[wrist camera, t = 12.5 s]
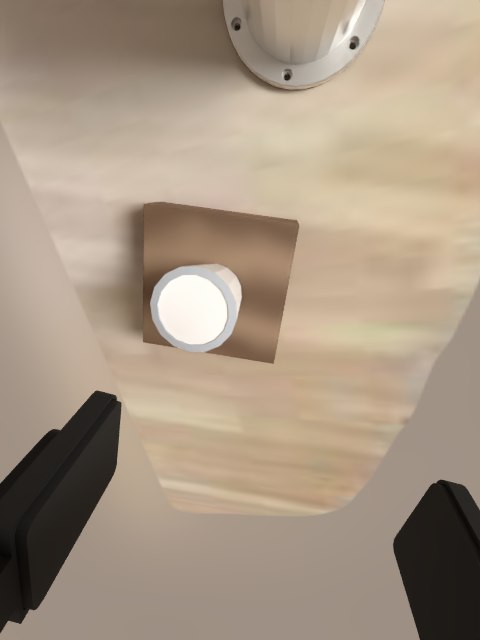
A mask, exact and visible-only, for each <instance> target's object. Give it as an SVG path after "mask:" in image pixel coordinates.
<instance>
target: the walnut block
mask: <svg viewBox="0 0 480 640" xmlns="http://www.w3.org/2000/svg"><path fill="white" fill-rule="evenodd" d="M298 230H299V224H298V222H297V220H290V219H283V218H275V217H268V216H261V215H253V214H246V213H239V212H232V211H224V210H217V209H210V208H202V207H195V206H188V205H181V204H173V203H166V202H155V203H147V204H144V288H143V342H146V343H152V344H158V345H164V346H170V347H175V346H173V345H172V344H171V343H169V342H168V341H167V340H166V339H165V338H164V337H163V336H162V335H160V333H159V331H158V329H157V327H156V325H155V324H154V322H153V320H152V313H151V305H150V302H151V298H152V294H153V291H154V287H155V286H156V285H157V283H158V282H159V281H160V280H161V278H162V277H163V276H164V275H165V274H166V273H168V272H170V271H172V270H175V269H177V268H179V267H182V266H191V265H200V264H216V263H217V264H219V265H222V266H224V267H227V268H228V269H230V270H231V271H232V272H233V273H234V274H235V275H236V276H237V279H238V281H239V283H240V285H241V294H242V298H241V303H240V308H239V312H238V317H237V320H236V323H235V326H234V328H233V331H232V334H231V335H230V336H229V337H228V338H227V339H226V340H225V341H224V342H223V343H222V344H221V345H220V346H219V347H216V348H214V349H211V350H209V351H206V353H212V354H218V355H224V356H230V357H236V358H242V359H248V360H254V361H261V362H267V363H273V364H274V359H275V353H276V348H277V342H278V337H279V332H280V326H281V321H282V316H283V310H284V305H285V299H286V294H287V289H288V283H289V278H290V273H291V267H292V262H293V256H294V251H295V246H296V240H297V235H298ZM176 348H178V347H176Z"/></svg>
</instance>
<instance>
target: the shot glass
mask: <svg viewBox="0 0 480 640" xmlns="http://www.w3.org/2000/svg"><path fill="white" fill-rule="evenodd" d="M241 298H242V294H241V285H240V283H239V281H238V279H237V276H236V275H235V274H234V273H233V272H232V271H231V270H230V269H228V268H227V267H224V266H222V265H219V264H217V263H216V264H200V265H191V266H182V267H179V268H177V269H175V270H172V271H170V272H168V273H166V274H165V275H164V276H163V277H162V278H161V280H160V281H159V282H158V283H157V285H156V286H155V287H154V291H153V294H152V298H151V302H150V305H151V313H152V320H153V322H154V324H155V325H156V327H157V329H158V331H159V333H160V335H162V336H163V337H164V338H165V339H166V340H167V341H168V342H169V343H171V344H172V345H173V346H175V347H178V348H180V349H183V350H185V351H188V352H206V351H209V350H211V349H214V348H216V347H219V346H220V345H221V344H222V343H223V342H224V341H225V340H226V339H227V338H228V337H229V336H230V335H231V334H232V331H233V328H234V326H235V323H236V320H237V317H238V312H239V308H240V303H241Z"/></svg>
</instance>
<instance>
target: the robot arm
mask: <svg viewBox="0 0 480 640" xmlns="http://www.w3.org/2000/svg"><path fill="white" fill-rule="evenodd" d="M384 2H385V0H223V9H224V17H225V21H226V24H227V28H228V32H229V35H230V38H231V40H232V43H233V46H234V47H235V49H236V51H237V53H238V55H239V56H240V58H241V60H242V61H243V62H244V63H245V65H246V66H247V67H248V68H249V69H250V71H251V72H253V73H254V74H255V75H256V76H258V77H259V78H260V79H261V80H263V81H265V82H267V83H269V84H271V85H273V86H275V87H280V88H284V89H288V90H296V89H307V88H311V87H316V86H318V85H320V84H323V83H325V82H327V81H329V80H331V79H332V78H334V77H335V76H337V75H338V74H340V73H341V72H342V71H344V70H345V69H346V68H347V67H348V66H349V65H350V64H351V63H352V62H353V61H354V60H355V59H356V57H357V56H358V55H359V53H360V52H361V51H362V49H363V48H364V46H365V45H366V44H367V42H368V40H369V38H370V36H371V35H372V33H373V31H374V29H375V27H376V25H377V22H378V20H379V17H380V15H381V13H382V9H383V6H384ZM238 25H239V26H240V27H241V28H240V29H239V30H238V31H235V27H236V26H238ZM350 44H354V45H355V49H354V50H351V49H350V48H349V45H350ZM285 75H289V76H290V79H289V80H287V81H286V80H285V79H284V76H285ZM120 417H121V402H119V401H117V397H116V396H115V395H113V394H109V393H105V392H101V391H95V392H94V393H93V394H92V395H91V396H90V397H89V399H88V400H87V401H86V402H85V403H84V404H83V405H82V407H81V408H80V409H79V410H78V411H77V412H76V413H75V415H74V416H73V417H72V418H71V419H70V420H69V421H68V423H67V424H66V425H65V426H64V427H63V428H62V430H57V429H53V430H51V431H49V432H48V433H47V434H46V435H45V436H44V437H43V438H42V439H41V440H40V441H39V442H38V443H37V444H36V445H35V446H34V447H33V449H32V450H31V451H30V452H29V453H28V454H27V455H26V456H25V457H24V458H23V459H22V461H21V462H20V463H19V464H18V465H17V466H16V467H15V468H14V469H13V470H12V471H11V473H10V474H9V475H8V476H7V477H6V478H5V479H4V480H3V481H2V482H1V483H0V633H1V631H2V630H3V628H4V626H5V625H6V623H7V621H12V622H16V623H19V624H21V623H22V621H23V619H24V618H25V616H26V614H27V613H28V611H29V609H31V610H36V609H37V608H38V606H39V605H40V604H41V602H42V601H43V599H44V597H45V596H46V594H47V592H48V590H49V588H50V587H51V585H52V583H53V581H54V580H55V578H56V576H57V574H58V573H59V571H60V569H61V567H62V565H63V564H64V562H65V560H66V558H67V557H68V555H69V553H70V551H71V550H72V548H73V546H74V544H75V542H76V541H77V539H78V537H79V535H80V534H81V532H82V530H83V528H84V526H85V525H86V523H87V521H88V519H89V518H90V516H91V514H92V512H93V511H94V509H95V507H96V505H97V504H98V502H99V500H100V498H101V496H102V495H103V493H104V491H105V489H106V487H107V486H108V484H109V482H110V481H111V479H112V477H113V475H114V472H115V469H116V465H117V453H118V441H119V429H120ZM393 548H394V554H395V557H396V560H397V564H398V567H399V570H400V574H401V577H402V580H403V584H404V587H405V591H406V594H407V597H408V601H409V604H410V607H411V611H412V614H413V617H414V620H415V624H416V627H417V631H418V634H419V638H420V640H480V510H479V508H478V506H477V505H476V503H475V501H474V500H473V498H472V496H471V495H470V493H469V491H468V490H467V489H466V487H465V486H463V485H461V484H457V483H453V482H449V481H445V480H439V481H438V482H437V483H433V484H432V485H431V486H430V487H429V489H428V490H427V491H426V493H425V495H424V496H423V497H422V499H421V500H420V502H419V503H418V505H417V506H416V508H415V509H414V510H413V512H412V513H411V515H410V516H409V518H408V519H407V521H406V522H405V524H404V525H403V527H402V528H401V530H400V531H399V533H398V534H397V535H396V537H395V539H394V543H393Z"/></svg>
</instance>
